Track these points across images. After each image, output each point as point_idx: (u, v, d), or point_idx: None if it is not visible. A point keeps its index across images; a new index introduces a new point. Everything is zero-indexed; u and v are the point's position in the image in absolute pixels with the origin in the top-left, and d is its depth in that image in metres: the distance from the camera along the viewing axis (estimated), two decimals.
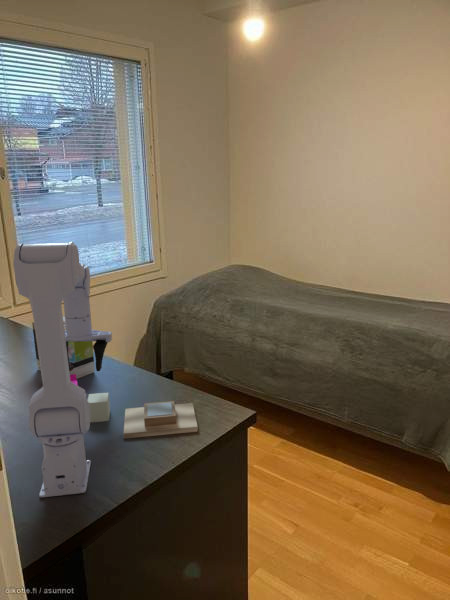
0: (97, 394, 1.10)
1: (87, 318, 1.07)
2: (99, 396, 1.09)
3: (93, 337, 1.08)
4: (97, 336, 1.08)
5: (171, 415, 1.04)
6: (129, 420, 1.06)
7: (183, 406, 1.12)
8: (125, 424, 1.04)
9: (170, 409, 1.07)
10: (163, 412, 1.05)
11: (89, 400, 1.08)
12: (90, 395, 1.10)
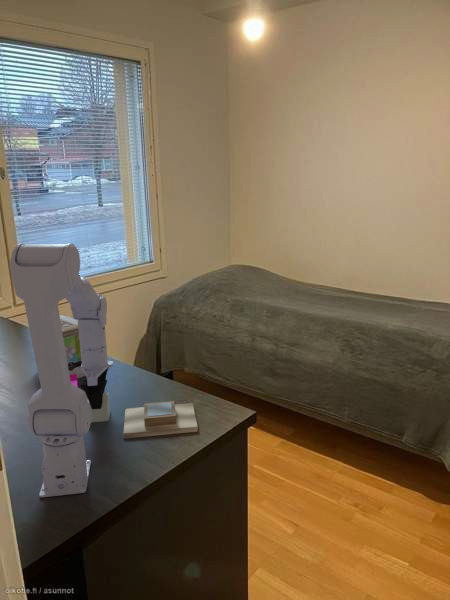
0: None
1: (86, 352, 1.03)
2: None
3: (84, 372, 1.03)
4: (85, 373, 1.02)
5: (171, 415, 1.04)
6: (129, 420, 1.06)
7: (183, 406, 1.12)
8: (125, 424, 1.04)
9: (170, 409, 1.07)
10: (163, 412, 1.05)
11: None
12: None
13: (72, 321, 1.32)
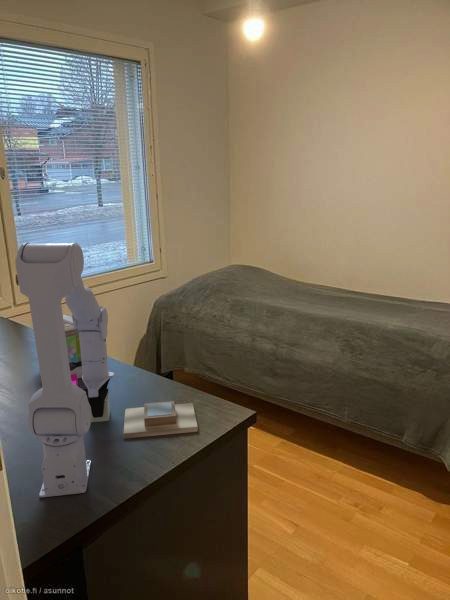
0: None
1: (87, 363, 1.04)
2: None
3: (85, 384, 1.04)
4: (86, 385, 1.03)
5: (171, 415, 1.04)
6: (129, 420, 1.06)
7: (183, 406, 1.12)
8: (125, 424, 1.04)
9: (170, 409, 1.07)
10: (163, 412, 1.05)
11: None
12: None
13: None
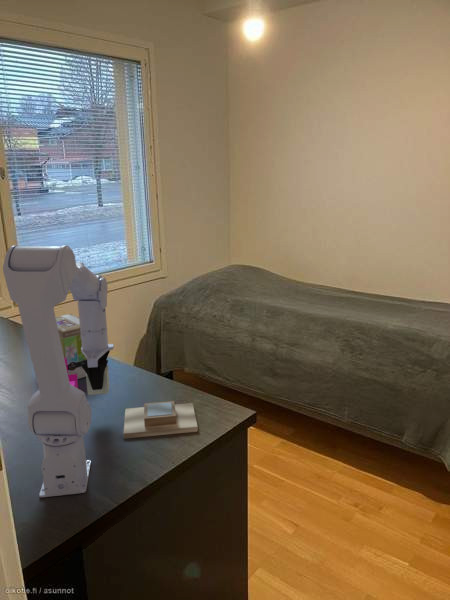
0: None
1: (86, 334, 1.02)
2: None
3: (84, 355, 1.02)
4: (85, 355, 1.01)
5: (171, 415, 1.04)
6: (129, 420, 1.06)
7: (183, 406, 1.12)
8: (125, 424, 1.04)
9: (170, 409, 1.07)
10: (163, 412, 1.05)
11: None
12: None
13: (76, 321, 1.32)
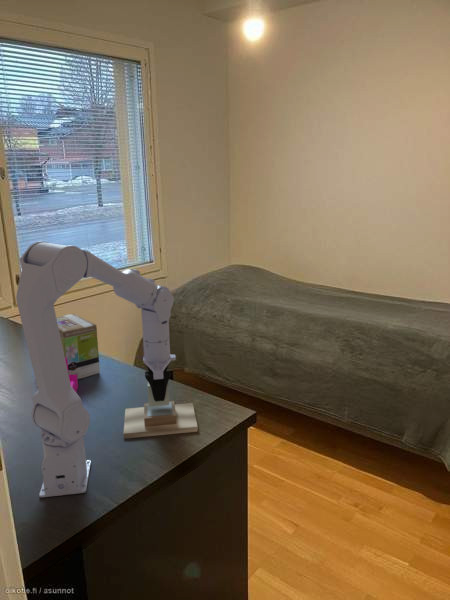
0: None
1: (150, 344, 1.00)
2: None
3: (148, 366, 1.00)
4: (150, 367, 0.99)
5: (171, 415, 1.04)
6: (129, 420, 1.06)
7: (183, 406, 1.12)
8: (125, 424, 1.04)
9: (170, 409, 1.07)
10: (163, 412, 1.05)
11: None
12: None
13: (78, 321, 1.32)
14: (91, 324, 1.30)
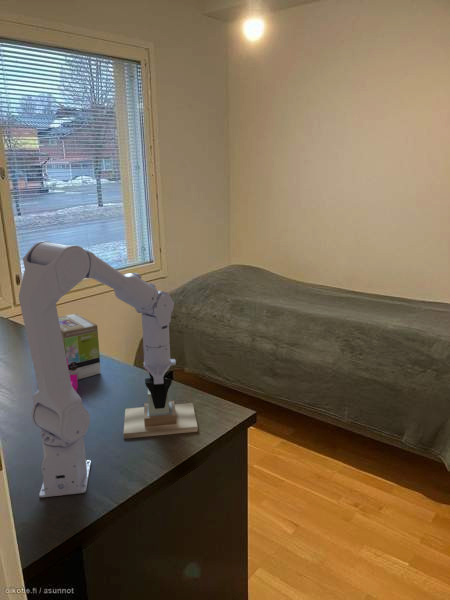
0: None
1: (150, 349, 1.00)
2: None
3: (149, 371, 1.00)
4: (150, 372, 0.99)
5: (171, 415, 1.04)
6: (129, 420, 1.06)
7: (183, 406, 1.12)
8: (125, 424, 1.04)
9: (170, 409, 1.07)
10: None
11: (149, 391, 1.04)
12: None
13: (79, 321, 1.32)
14: (92, 324, 1.30)
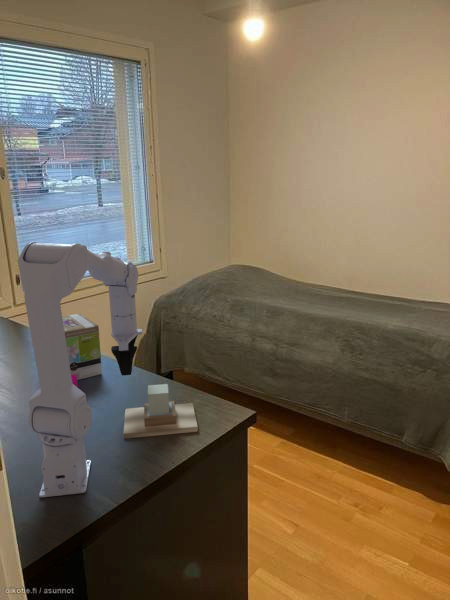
0: (156, 386, 1.07)
1: (117, 318, 1.05)
2: (159, 388, 1.06)
3: (115, 339, 1.05)
4: (116, 339, 1.04)
5: (171, 415, 1.04)
6: (129, 420, 1.06)
7: (183, 406, 1.12)
8: (125, 424, 1.04)
9: (170, 409, 1.07)
10: None
11: (149, 391, 1.04)
12: (149, 386, 1.06)
13: (81, 321, 1.32)
14: (94, 324, 1.29)
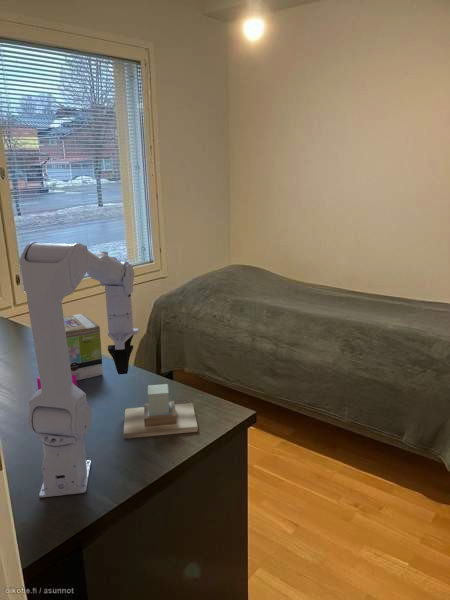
0: (156, 386, 1.07)
1: (113, 317, 1.06)
2: (159, 388, 1.06)
3: (111, 338, 1.06)
4: (112, 338, 1.05)
5: (171, 415, 1.04)
6: (129, 420, 1.06)
7: (183, 406, 1.12)
8: (125, 424, 1.04)
9: (170, 409, 1.07)
10: None
11: (149, 391, 1.04)
12: (149, 386, 1.06)
13: (83, 321, 1.32)
14: (95, 325, 1.29)
